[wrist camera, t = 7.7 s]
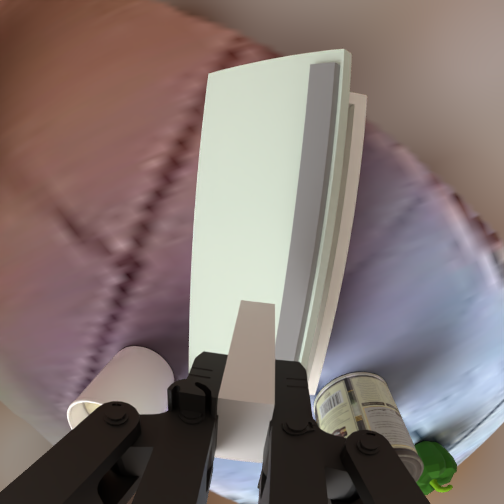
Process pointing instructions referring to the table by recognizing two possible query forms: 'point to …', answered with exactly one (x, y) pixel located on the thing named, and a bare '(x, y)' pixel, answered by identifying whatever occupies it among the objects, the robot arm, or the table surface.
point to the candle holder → (126, 384)
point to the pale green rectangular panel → (268, 197)
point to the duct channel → (339, 236)
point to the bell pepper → (435, 467)
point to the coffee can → (366, 414)
